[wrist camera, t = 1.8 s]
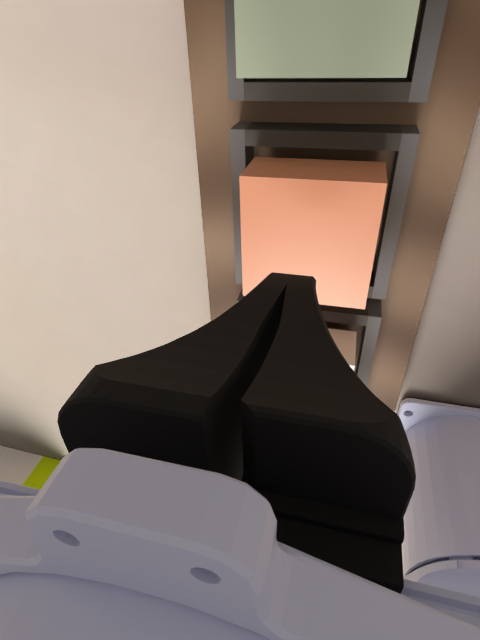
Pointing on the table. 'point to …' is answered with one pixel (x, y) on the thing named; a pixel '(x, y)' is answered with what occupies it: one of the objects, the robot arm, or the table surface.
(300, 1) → the sage button
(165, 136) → the table surface
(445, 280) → the table surface
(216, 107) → the button board
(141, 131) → the table surface
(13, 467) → the puzzle toy
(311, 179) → the terracotta button
